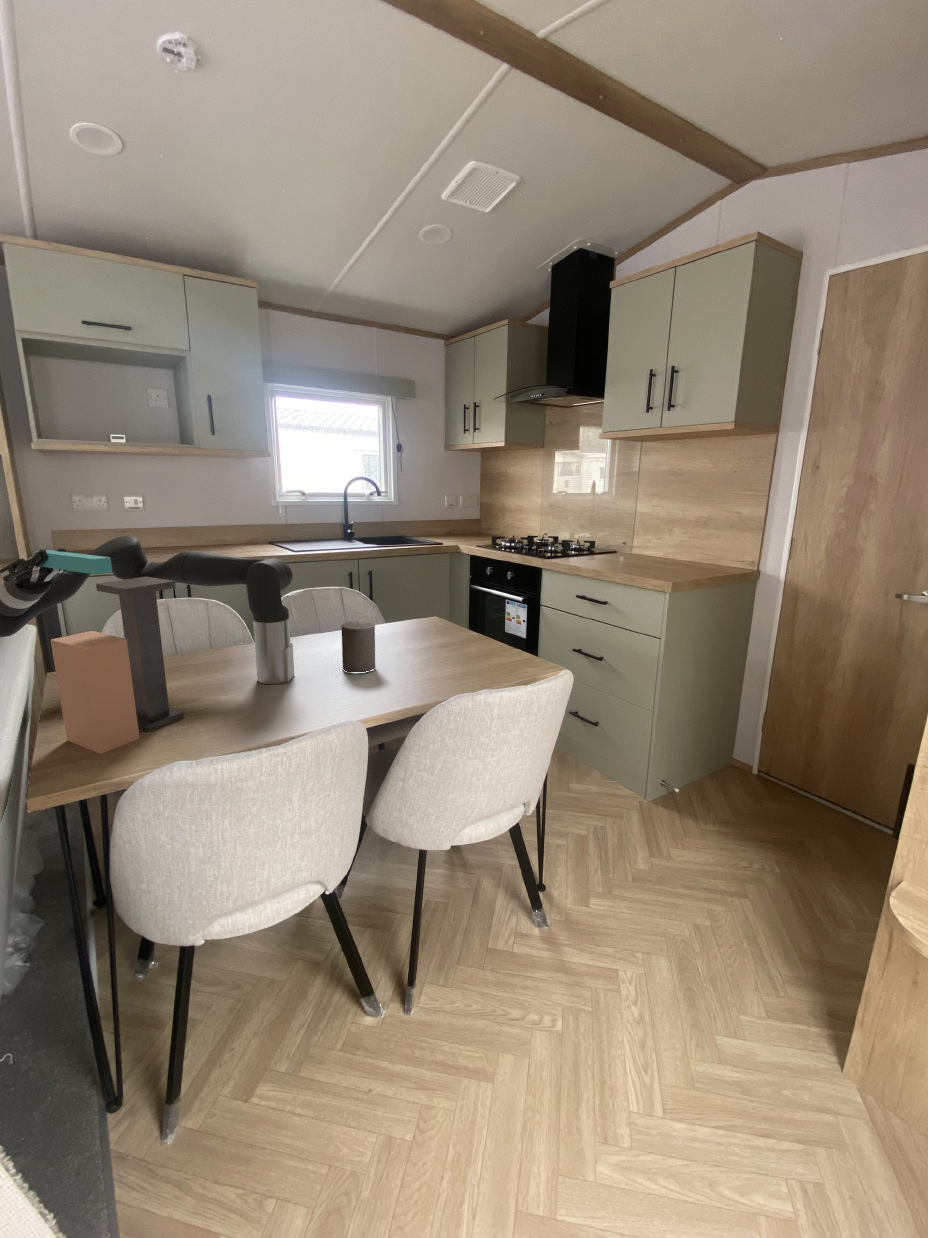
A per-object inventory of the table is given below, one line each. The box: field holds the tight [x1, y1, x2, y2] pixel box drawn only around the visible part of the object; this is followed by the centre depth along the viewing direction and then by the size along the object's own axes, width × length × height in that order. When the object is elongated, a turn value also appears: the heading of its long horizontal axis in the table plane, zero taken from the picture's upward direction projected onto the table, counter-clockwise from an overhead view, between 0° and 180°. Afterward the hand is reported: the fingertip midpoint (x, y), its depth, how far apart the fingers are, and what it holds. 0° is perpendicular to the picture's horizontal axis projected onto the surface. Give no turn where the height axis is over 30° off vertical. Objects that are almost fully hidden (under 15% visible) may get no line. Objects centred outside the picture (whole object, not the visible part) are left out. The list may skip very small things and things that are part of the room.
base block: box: [50, 630, 140, 755], centre depth 114 cm, size 12×8×22 cm, turn 62°
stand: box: [95, 577, 185, 734], centre depth 123 cm, size 10×11×32 cm
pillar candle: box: [341, 619, 376, 672], centre depth 162 cm, size 10×10×15 cm
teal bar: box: [33, 549, 113, 576], centre depth 113 cm, size 22×3×3 cm, turn 62°
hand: (54, 552), depth 115 cm, fingers closed on teal bar, 3 cm apart
